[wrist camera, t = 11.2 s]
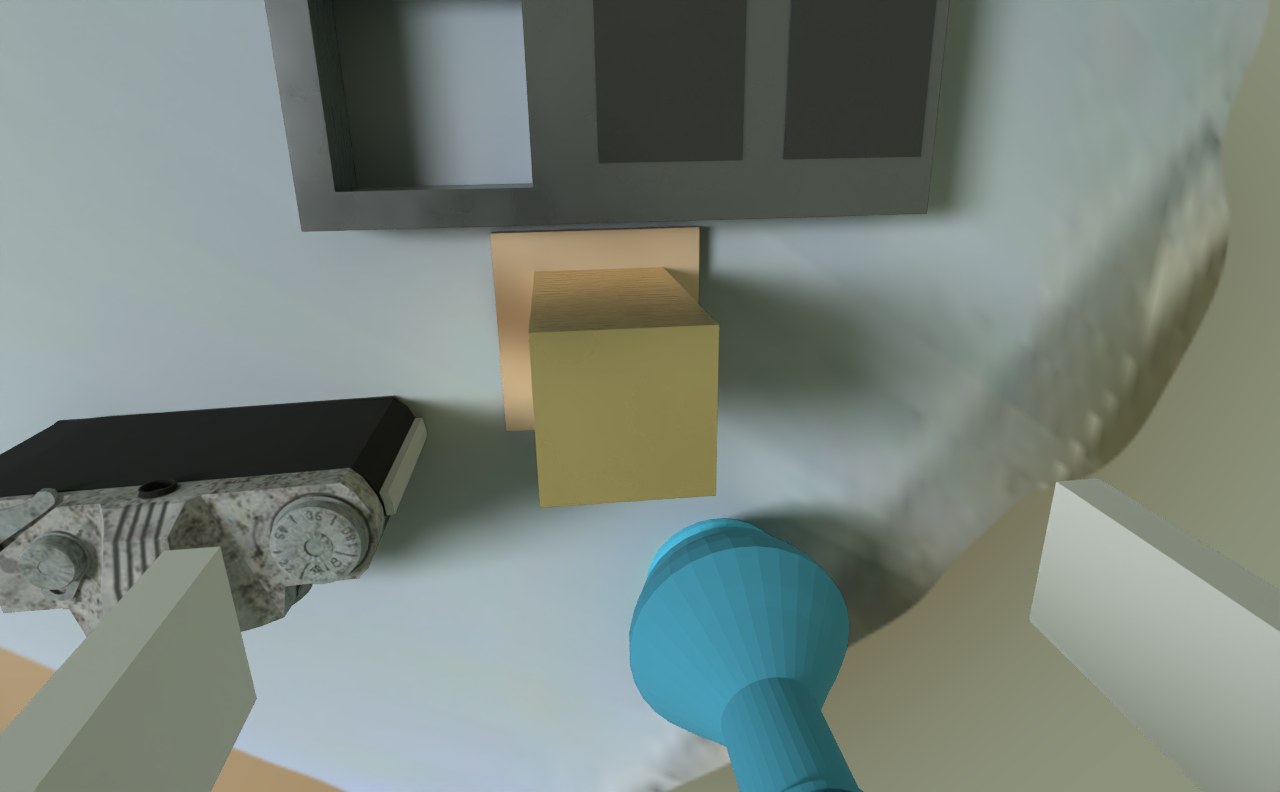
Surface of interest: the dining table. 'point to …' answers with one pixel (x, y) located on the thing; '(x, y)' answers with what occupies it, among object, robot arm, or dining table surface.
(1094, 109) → the dining table surface
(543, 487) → the block
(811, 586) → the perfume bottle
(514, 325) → the cork mat
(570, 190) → the grey slotted tray
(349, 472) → the camera
